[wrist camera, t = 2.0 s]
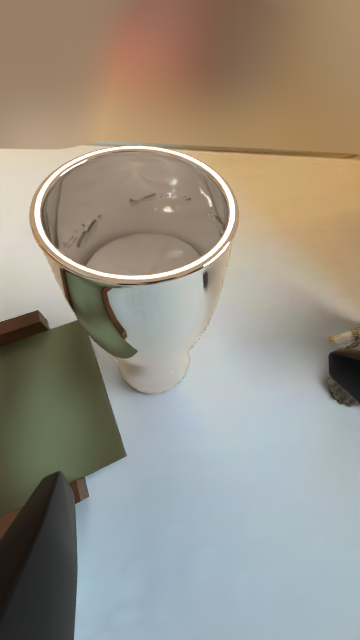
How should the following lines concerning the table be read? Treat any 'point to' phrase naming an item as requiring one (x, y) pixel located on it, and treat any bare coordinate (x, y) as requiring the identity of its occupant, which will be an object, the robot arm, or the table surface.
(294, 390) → the table surface
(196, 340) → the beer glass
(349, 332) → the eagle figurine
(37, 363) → the dock
